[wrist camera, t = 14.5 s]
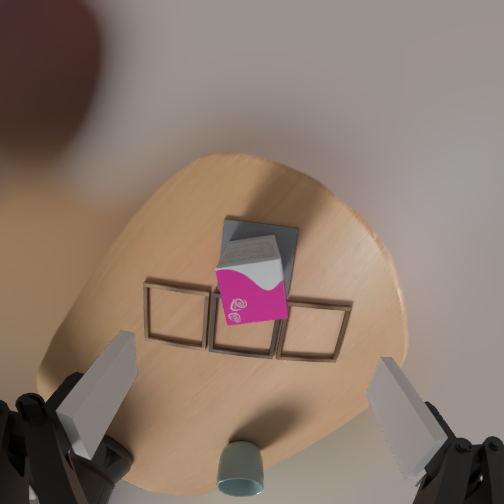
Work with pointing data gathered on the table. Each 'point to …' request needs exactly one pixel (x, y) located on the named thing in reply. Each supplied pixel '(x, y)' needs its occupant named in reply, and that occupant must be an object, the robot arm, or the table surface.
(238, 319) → the supplement box
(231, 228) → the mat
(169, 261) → the table surface
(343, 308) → the frame
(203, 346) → the frame
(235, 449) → the cup
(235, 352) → the frame
